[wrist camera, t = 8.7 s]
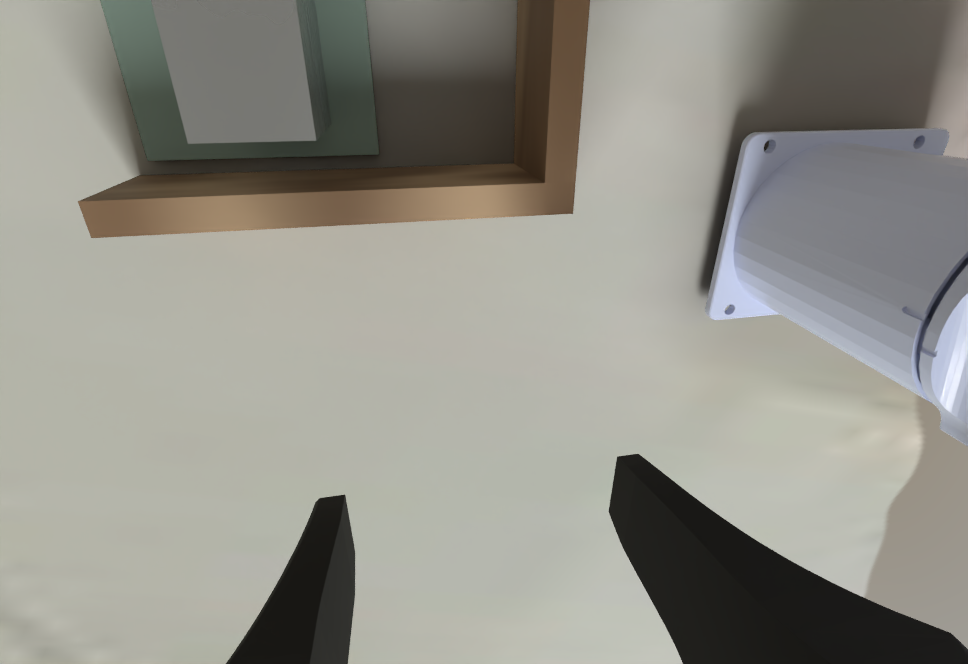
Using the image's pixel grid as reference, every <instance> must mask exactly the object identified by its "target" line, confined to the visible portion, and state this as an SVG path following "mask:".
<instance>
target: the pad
mask: <svg viewBox="0 0 968 664" xmlns="http://www.w3.org/2000/svg"><path fill="white" fill-rule="evenodd" d="M100 1H101V5H102V8H103V11H104V15H105V18H106V22H107V25H108V28H109V32H110V35H111V39H112V42H113V45H114V49H115V52H116V55H117V59H118V62H119V66H120V69H121V72H122V76H123V79H124V82H125V86H126V89H127V93H128V96H129V99H130V103H131V106H132V110H133V113H134V116H135V120H136V123H137V126H138V130H139V133H140V137H141V140H142V143H143V147H144V150H145V154H146V157H147V160H148V161H160V160H196V159H232V158H268V157H304V156H340V155H376V154H379V146H378V135H377V124H376V114H375V103H374V92H373V81H372V70H371V59H370V49H369V38H368V27H367V16H366V5H365V0H315V4H316V11H317V19H318V27H319V34H320V42H321V49H322V57H323V64H324V72H325V80H326V87H327V95H328V102H329V110H330V117H331V125H330V126H329V127H328V128H327V129H326V130H325V132H324V133H323V134H322V135H321V136H320V137H319V138H318V139H317V140H316V141H280V142H239V143H198V144H188V142H187V138H186V134H185V130H184V126H183V123H182V119H181V115H180V111H179V107H178V103H177V99H176V95H175V92H174V88H173V84H172V80H171V76H170V72H169V68H168V64H167V61H166V57H165V53H164V49H163V45H162V41H161V37H160V33H159V30H158V26H157V22H156V18H155V14H154V10H153V6H152V2H151V0H100Z"/></svg>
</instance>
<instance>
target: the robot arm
mask: <svg viewBox="0 0 968 664" xmlns="http://www.w3.org/2000/svg"><path fill="white" fill-rule="evenodd" d="M915 139H916V141H915ZM948 140H949V132H948V131H947V130H946V129H942V128H913V129H871V130H828V131H785V132H754V133H751V134H749V135H748V136H747V137H746V138H745V139H744V141H743V143H742V145H741V149H740V154H739V158H738V163H737V167H736V172H735V176H734V181H733V186H732V190H731V195H730V199H729V204H728V208H727V213H726V217H725V222H724V226H723V231H722V235H721V240H720V244H719V249H718V254H717V258H716V263H715V267H714V272H713V276H712V281H711V285H710V290H709V294H708V299H707V303H706V308H705V312H706V314H707V315H708V316H709V317H710V318H712V319H713V320H722V319H732V318H743V317H754V316H764V315H775V314H781V315H783V316H784V317H786V318H788V319H790V320H791V321H793V322H795V323H796V324H798V325H800V326H802V327H803V328H805V329H807V330H808V331H810V332H812V333H813V334H815V335H817V336H819V337H820V338H822V339H824V340H825V341H827V342H829V343H830V344H832V345H834V346H836V347H837V348H839V349H841V350H842V351H844V352H846V353H847V354H849V355H851V356H853V357H854V358H856V359H858V360H859V361H861V362H863V363H864V364H866V365H868V366H870V367H871V368H873V369H875V370H876V371H878V372H880V373H882V374H883V375H885V376H887V377H888V378H890V379H892V380H893V381H895V382H897V383H899V384H900V385H902V386H904V387H905V388H907V389H909V390H910V391H912V392H914V393H916V394H917V395H919V396H921V397H922V398H924V399H926V400H928V401H929V402H931V403H933V404H934V405H935V406H936V407H937V408H938V409H939V411H940V413H941V423H940V429H941V430H942V431H944V432H946V433H947V434H949V435H950V436H952V437H954V438H955V439H957V440H958V441H960V442H962V443H963V444H965V445H966V446H968V159H965V158H958V157H951V156H944V155H943V153H944V150H945V148H946V145H947V143H948ZM767 141H769V146H768V148H767V149H766V150H765V151H764V145H765V143H766V142H767ZM914 141H915V143H914ZM728 305H730V306H729V308H728V309H727V310H726V311H724V310H725V308H726V307H727V306H728ZM609 514H610V516H611V519H612V521H613V524H614V527H615V529H616V532H617V534H618V537H619V539H620V542H621V544H622V546H623V549H624V550H625V552H626V554H627V556H628V558H629V560H630V562H631V564H632V566H633V567H634V569H635V571H636V573H637V575H638V577H639V578H640V580H641V582H642V584H643V586H644V588H645V589H646V591H647V593H648V595H649V597H650V599H651V600H652V602H653V604H654V606H655V608H656V609H657V611H658V613H659V615H660V617H661V619H662V620H663V622H664V624H665V626H666V628H667V630H668V632H669V634H670V636H671V638H672V640H673V642H674V644H675V646H676V648H677V651H678V653H679V655H680V657H681V660H682V662H683V664H968V649H967V648H966V647H965V646H964V645H963V644H962V643H961V642H960V641H959V640H958V639H956V638H955V637H954V636H953V635H952V634H951V633H949V632H946V631H944V630H941V629H939V628H936V627H934V626H931V625H929V624H926V623H923V622H921V621H918V620H916V619H913V618H911V617H908V616H905V615H903V614H900V613H898V612H895V611H893V610H890V609H888V608H886V607H883V606H881V605H879V604H877V603H874V602H872V601H870V600H868V599H865V598H863V597H861V596H859V595H857V594H854V593H852V592H850V591H848V590H846V589H844V588H842V587H840V586H838V585H835V584H833V583H831V582H830V581H828V580H826V579H824V578H822V577H820V576H818V575H816V574H814V573H812V572H810V571H808V570H806V569H804V568H803V567H801V566H799V565H797V564H795V563H793V562H792V561H790V560H788V559H786V558H785V557H783V556H781V555H780V554H778V553H776V552H774V551H773V550H771V549H769V548H768V547H766V546H764V545H763V544H761V543H759V542H758V541H756V540H755V539H753V538H751V537H750V536H748V535H747V534H745V533H744V532H742V531H741V530H739V529H738V528H736V527H735V526H733V525H732V524H730V523H729V522H728V521H726V520H725V519H723V518H722V517H720V516H719V515H718V514H716V513H715V512H713V511H712V510H711V509H709V508H708V507H706V506H705V505H704V504H702V503H701V502H700V501H698V500H697V499H696V498H694V497H693V496H692V495H690V494H689V493H688V492H686V491H685V490H684V489H683V488H681V487H680V486H679V485H677V484H676V483H675V482H674V481H672V480H671V479H670V478H669V477H667V476H666V475H665V474H663V473H662V472H661V471H660V470H658V469H657V468H656V467H655V466H653V465H652V464H651V463H650V462H648V461H647V460H646V459H644V458H643V457H642V456H640V455H639V454H634V455H626V456H619V457H617V462H616V468H615V475H614V481H613V488H612V494H611V500H610V507H609ZM354 598H355V549H354V543H353V538H352V532H351V526H350V520H349V515H348V509H347V503H346V497H345V495H340V496H333V497H325V498H320V499H319V500H318V501H317V502H316V503H315V505H314V508H313V511H312V513H311V516H310V518H309V520H308V523H307V525H306V527H305V530H304V532H303V534H302V536H301V538H300V540H299V542H298V545H297V547H296V549H295V551H294V553H293V554H292V556H291V558H290V560H289V562H288V564H287V566H286V568H285V570H284V572H283V574H282V576H281V577H280V579H279V581H278V583H277V585H276V586H275V588H274V590H273V591H272V593H271V595H270V596H269V598H268V600H267V602H266V603H265V605H264V607H263V608H262V610H261V612H260V613H259V615H258V617H257V618H256V620H255V621H254V623H253V625H252V626H251V628H250V629H249V631H248V632H247V634H246V635H245V637H244V638H243V640H242V641H241V643H240V644H239V646H238V647H237V649H236V650H235V652H234V653H233V655H232V656H231V657H230V659H229V660H228V662H227V663H226V664H348V655H349V645H350V636H351V627H352V617H353V608H354Z"/></svg>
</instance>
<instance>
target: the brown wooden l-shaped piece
mask: <svg viewBox="0 0 968 664" xmlns="http://www.w3.org/2000/svg"><path fill="white" fill-rule="evenodd" d="M589 6H590V0H518V10H517V51H516V92H515V132H514V163H511V164H480V165H449V166H418V167H387V168H356V169H325V170H294V171H263V172H232V173H201V174H170V175H140V176H137V177H135V178H132V179H130V180H128V181H125V182H123V183H121V184H118V185H116V186H113V187H111V188H109V189H106V190H104V191H102V192H99V193H97V194H95V195H92V196H90V197H87V198H85V199H83V200H80V201H78V203H79V206H80V208H81V211H82V214H83V217H84V219H85V222H86V225H87V227H88V230H89V233H90V235H91V238H101V237H121V236H140V235H160V234H180V233H199V232H219V231H239V230H258V229H278V228H298V227H317V226H337V225H357V224H377V223H396V222H416V221H436V220H455V219H475V218H495V217H514V216H534V215H554V214H573V206H574V193H575V181H576V168H577V156H578V143H579V131H580V118H581V106H582V93H583V81H584V68H585V56H586V43H587V31H588V18H589Z"/></svg>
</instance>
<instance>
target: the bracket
mask: <svg viewBox="0 0 968 664" xmlns="http://www.w3.org/2000/svg"><path fill="white" fill-rule="evenodd" d="M151 2H152V6H153V10H154V14H155V18H156V22H157V26H158V30H159V33H160V37H161V41H162V45H163V49H164V53H165V57H166V61H167V64H168V68H169V72H170V76H171V80H172V84H173V88H174V92H175V95H176V99H177V103H178V107H179V111H180V115H181V119H182V123H183V126H184V130H185V134H186V138H187V142H188V144H198V143H239V142H280V141H316V140H317V139H318V138H319V137H320V136H321V135H322V134H323V133H324V132H325V130H326V129H327V128H328V127H329V126H330V125H331V117H330V110H329V102H328V95H327V87H326V80H325V72H324V64H323V57H322V49H321V42H320V34H319V27H318V19H317V11H316V4H315V0H151Z"/></svg>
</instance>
